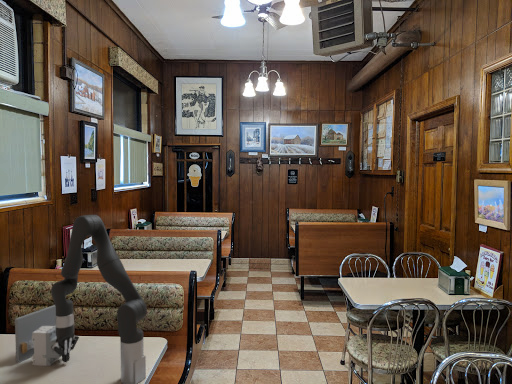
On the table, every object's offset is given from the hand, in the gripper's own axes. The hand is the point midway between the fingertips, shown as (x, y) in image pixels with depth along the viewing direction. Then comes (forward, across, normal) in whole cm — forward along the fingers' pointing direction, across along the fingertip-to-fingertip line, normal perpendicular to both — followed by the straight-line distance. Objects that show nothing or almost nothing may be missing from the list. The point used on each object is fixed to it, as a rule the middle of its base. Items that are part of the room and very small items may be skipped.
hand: (65, 361), depth 167 cm
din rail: (-3, +3, +20) cm, 20 cm away
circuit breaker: (+2, -1, +8) cm, 8 cm away
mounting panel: (+1, +3, +22) cm, 22 cm away
